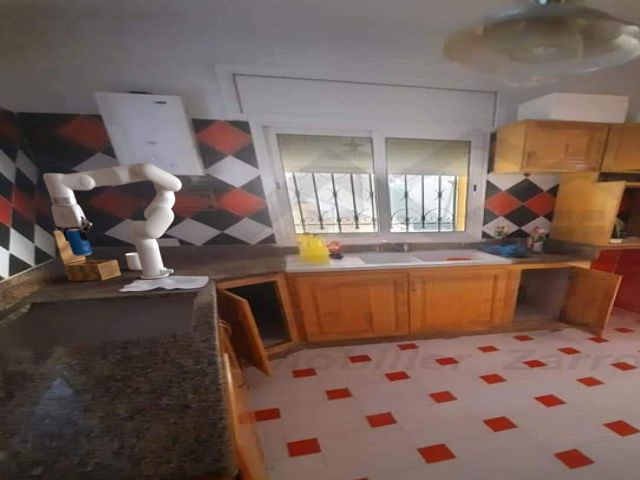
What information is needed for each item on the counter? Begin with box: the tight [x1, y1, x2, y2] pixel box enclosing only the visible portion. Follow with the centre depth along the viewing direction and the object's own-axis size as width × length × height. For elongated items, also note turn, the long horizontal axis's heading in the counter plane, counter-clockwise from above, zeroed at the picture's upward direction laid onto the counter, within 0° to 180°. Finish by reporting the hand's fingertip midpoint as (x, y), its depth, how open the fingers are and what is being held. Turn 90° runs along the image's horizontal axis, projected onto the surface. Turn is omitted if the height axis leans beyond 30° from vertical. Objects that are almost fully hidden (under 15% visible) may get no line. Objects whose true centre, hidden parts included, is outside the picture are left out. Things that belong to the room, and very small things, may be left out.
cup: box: [124, 252, 142, 271], centre depth 198 cm, size 10×10×10 cm
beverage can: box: [66, 228, 93, 257], centre depth 151 cm, size 6×6×12 cm
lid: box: [51, 228, 87, 265], centre depth 172 cm, size 17×13×5 cm
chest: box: [63, 259, 122, 282], centre depth 177 cm, size 17×13×9 cm
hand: (78, 240), depth 151 cm, fingers closed on beverage can, 6 cm apart
